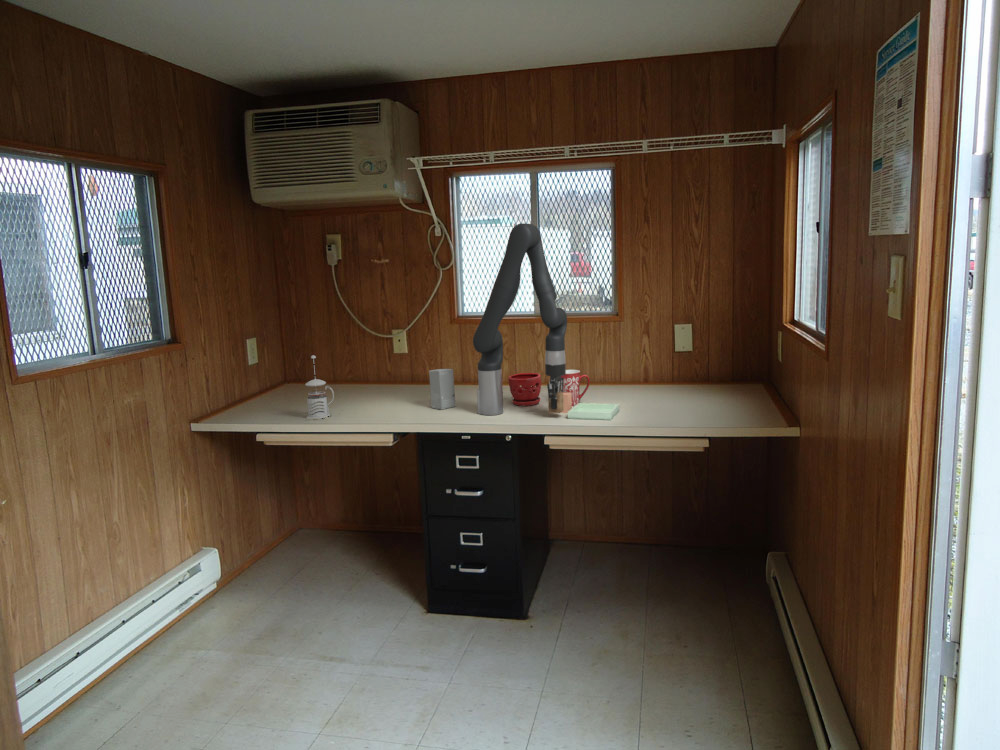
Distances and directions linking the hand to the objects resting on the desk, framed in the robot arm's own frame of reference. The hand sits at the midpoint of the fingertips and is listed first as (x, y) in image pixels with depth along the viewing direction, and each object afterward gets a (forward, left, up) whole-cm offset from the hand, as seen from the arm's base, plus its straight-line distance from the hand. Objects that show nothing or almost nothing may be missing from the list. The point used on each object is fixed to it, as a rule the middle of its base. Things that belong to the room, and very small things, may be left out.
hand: (555, 407), depth 271 cm
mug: (+1, +23, -4) cm, 23 cm away
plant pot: (-19, +21, -4) cm, 29 cm away
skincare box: (-51, +10, -4) cm, 52 cm away
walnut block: (0, 0, -2) cm, 2 cm away
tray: (+13, +6, -4) cm, 15 cm away
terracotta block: (0, +10, -4) cm, 11 cm away
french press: (-94, -14, -4) cm, 95 cm away
